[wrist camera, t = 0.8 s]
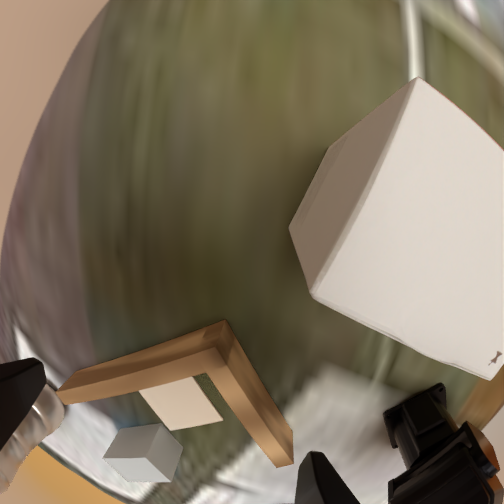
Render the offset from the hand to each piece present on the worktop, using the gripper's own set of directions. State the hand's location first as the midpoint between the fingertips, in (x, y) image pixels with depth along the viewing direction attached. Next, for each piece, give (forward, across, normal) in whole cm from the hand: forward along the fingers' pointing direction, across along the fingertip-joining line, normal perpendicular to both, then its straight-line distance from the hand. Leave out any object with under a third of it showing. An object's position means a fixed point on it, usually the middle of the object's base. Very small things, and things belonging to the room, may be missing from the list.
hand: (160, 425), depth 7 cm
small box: (+14, -7, -7) cm, 17 cm away
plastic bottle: (+13, +18, +20) cm, 30 cm away
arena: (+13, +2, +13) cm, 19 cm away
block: (+14, +5, +19) cm, 24 cm away
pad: (+13, +2, +12) cm, 18 cm away
